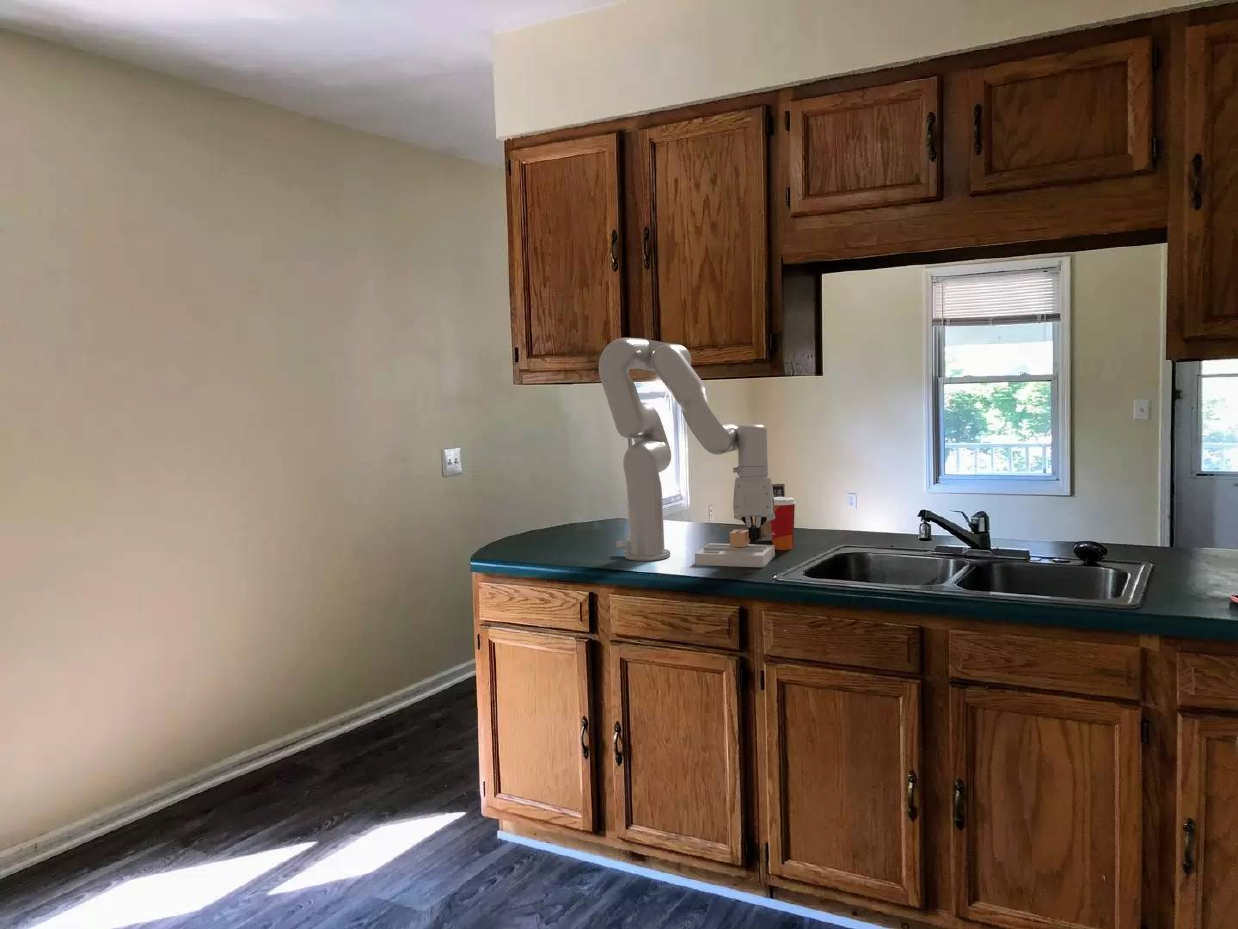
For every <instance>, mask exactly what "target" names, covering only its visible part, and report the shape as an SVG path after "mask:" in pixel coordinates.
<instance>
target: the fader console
mask: <svg viewBox="0 0 1238 929" xmlns="http://www.w3.org/2000/svg"><path fill="white" fill-rule="evenodd" d="M774 557H776V552H775V545H773V544H751V543H749V544H748V545H747V546H746V547H742V548H740V547H730V543H710V542H709V543H707V544H706V545H705V546H703V547H702V548H701V549H699V550H698V551H696V552H695V553H694V561H695V562H694V563H695V564H694V565H696V566H716V567H739V568H740V567H745V568H746V567H747V568H749V567H750V568H765V567H766V566H767V565H768V564H769V563H770V562H771V561H772V560H773V559H774Z"/></svg>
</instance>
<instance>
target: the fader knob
mask: <svg viewBox="0 0 1238 929" xmlns="http://www.w3.org/2000/svg"><path fill="white" fill-rule="evenodd" d="M729 544H730V547H740V548H742V547H746V546H747V545H748V544H750V539H749V532H748V529H743V528H739V529H733V530H732V531H730V532H729Z"/></svg>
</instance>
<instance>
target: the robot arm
mask: <svg viewBox="0 0 1238 929" xmlns="http://www.w3.org/2000/svg"><path fill="white" fill-rule="evenodd" d="M630 370H642V371H643V370H644V371H649V372H655V373H656V374H657V376H658V377H659V378H660V380H661V381H662V383H663V384H664V385H665V387H666V388H667V389H668V391H669V392H670V394H671V395H672V396H673V398H674V399H675V401H676V403H677V404H678V405H679V407H680V411H681V413H682V415H683V418H684V420H685V422H686V424H687V426H688V428H689V430H690V431H691V433H692V434H693V435H694V437H695V438H696V439H697V441H698V442H699V444H700V445H701V446H702V447H703V448H704V450H705V451H706V452H708V453H710V454H712V455H714V456H715V455H717V456H720V455H723V454H727V453H731V452H734V451H737V459H738V462H737V464H738V465H737V466H736V467H733V468H732V473H735V474H737V477H735V479H734V485H733V499H732V500H733V503H732V505H733V506H732V507H733V508H732V509H733V514H734V515H733V518H734V519H735V520H738V521H742V522H743V523H744V524H745V525H746V527H747V528H748V529H747V530H748V532H749V540H750V544H751V543H753V544H754V543H755V544H758V543H759V542H760V541H759V539H761V526H762V525H763V524H764V523H765V522H766V521H769V520H773V519H775V514H774V495H773V487H772V484H773V482H772V477H771V476H769V472H768V471H769V468H768V467H769V465H768V460H769V459H768V429H767V426H765V425H764V424H760V423H755V424H753V423H752V424H751V423H750V424H736V423H721V422H720V421H719V420H718V418H717V416H716V415H715V413H714V411H712V409H711V407H710V405H709V403H708V398H707V386H706V385H705V382H703V380H702V379H701V377H700V376H699V375H698V373H697V372H696V371H695V370H694V368H693V367H692V356H691V354H690V351H689V350H688V349H687V348H686V346H683V345H681V344H677V343H668V342H662V341H658V340H651V339H645V338H640V337H620V338H617V339H615V340H612V341H611V342H610V343H608V344H607V346H605V348H604V349H603V350H602V353H601V354H600V357H599V360H598V374H599V375H598V376H599V378H600V381H601V382H600V383H601V384H602V387H603V390H604V393H605V396H606V399H607V403H608V406H609V409H610V412H611V413H610V414H611V416H612V419H613V421H614V425H615V428H616V430H617V433H618V434H619V435H620V436H621V437H622V438H624V439H629V440H630V439H632V440H633V441H634V443H633V444H632V445H631V446H629V447H628V448H627V449H626V451H625V453H624V456H623V459H622V460H623V461H622V462H623V464H622V465H623V471H624V472H623V473H624V478H625V483H626V492H627V493H626V494H627V509H628V510H627V511H628V512H627V513H628V532H629V533H628V534H629V539H628V540H626V541H624V540H623V541H622V540H620V541H619V540H617V541H616V543H615V544H616V545H615V546H616V548H617V549H620V550H626V552H624V558H625V559H626V560H630V561H641V562H644V561H645V562H648V561H649V562H651V561H658V560H663V559H664V560H665V559H668V558H669V557H670V556H671V550H669V549H666V548H665V533H664V532H665V530H664V527H665V525H664V508H663V507H664V506H663V503H664V502H663V488H662V482H661V479H660V478H661V477H660V473H661V472H663V471H666V469H667V468H668V467H669V465H670V464H671V461H672V449H671V445H670V443H669V440H668V437H667V434H666V432H665V428H664V425H663V422H662V420H661V417H660V415H659V413H658V411H657V410H656V408H655V407H654V406H653V405H651V404H649V403H646V402H642V401H641V399H640V396H639V393H638V390H637V389H638V388H637V386H636V383H635V381H634V380H633V378H632V376H631V374H630ZM754 516H757V518H756V525H755V522H754V519H753V517H754ZM763 516H764V517H763Z"/></svg>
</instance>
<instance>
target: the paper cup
mask: <svg viewBox="0 0 1238 929" xmlns="http://www.w3.org/2000/svg"><path fill="white" fill-rule="evenodd" d="M796 504H797V501H795V497H791V496H790V497H789V496H785V497H774V514H775V519H773V520H770V523H771V534H772V541H771V542H772V544H771V545H775V550H778V551H788V550H789V551H790V550H792V549H793V548H794V540H795V538H794V536H795V532H794V531H795V510H796V509H795V507H796V506H795V505H796Z"/></svg>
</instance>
